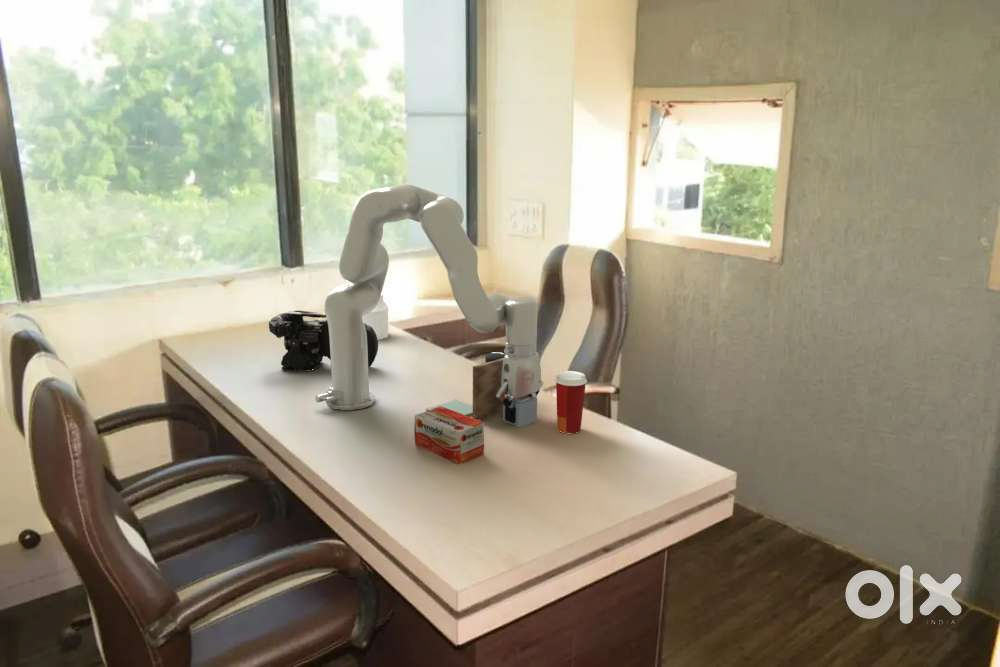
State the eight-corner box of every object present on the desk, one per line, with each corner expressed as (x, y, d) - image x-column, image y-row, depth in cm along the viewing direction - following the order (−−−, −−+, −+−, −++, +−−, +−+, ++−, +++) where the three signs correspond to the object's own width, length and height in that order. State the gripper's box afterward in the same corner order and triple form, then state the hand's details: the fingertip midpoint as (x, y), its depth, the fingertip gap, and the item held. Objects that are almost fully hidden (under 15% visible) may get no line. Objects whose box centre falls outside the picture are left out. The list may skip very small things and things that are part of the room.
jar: (351, 334, 267) (350, 292, 263) (376, 330, 273) (374, 289, 268) (367, 342, 258) (366, 298, 254) (392, 337, 264) (391, 295, 260)
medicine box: (413, 446, 177) (413, 414, 175) (439, 436, 183) (439, 404, 180) (459, 466, 167) (459, 432, 165) (485, 455, 173) (486, 422, 171)
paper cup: (587, 426, 189) (590, 372, 186) (580, 437, 182) (583, 382, 179) (557, 421, 192) (559, 368, 188) (548, 433, 185) (550, 378, 181)
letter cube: (519, 427, 188) (520, 403, 186) (502, 420, 192) (503, 397, 190) (536, 421, 192) (537, 398, 190) (519, 414, 196) (520, 392, 194)
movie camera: (262, 375, 221) (261, 315, 218) (283, 359, 239) (282, 304, 235) (368, 382, 220) (370, 323, 216) (381, 366, 237) (383, 311, 234)
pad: (451, 421, 191) (451, 419, 191) (426, 410, 198) (426, 408, 198) (480, 411, 198) (480, 409, 198) (455, 401, 205) (455, 399, 205)
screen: (479, 422, 191) (479, 368, 187) (468, 417, 194) (469, 364, 190) (519, 408, 200) (520, 357, 197) (508, 404, 203) (509, 354, 199)
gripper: (506, 359, 179) (505, 431, 183) (556, 345, 190) (554, 413, 195) (484, 352, 184) (484, 422, 189) (534, 339, 195) (532, 405, 200)
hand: (519, 417), depth 192 cm, fingers closed on letter cube, 6 cm apart
